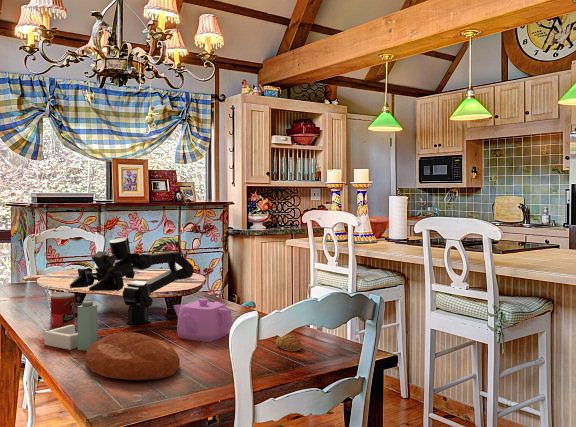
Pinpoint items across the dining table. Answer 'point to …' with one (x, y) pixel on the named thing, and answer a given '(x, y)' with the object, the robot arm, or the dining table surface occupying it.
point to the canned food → (62, 309)
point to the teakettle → (203, 320)
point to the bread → (132, 357)
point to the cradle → (62, 337)
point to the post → (87, 325)
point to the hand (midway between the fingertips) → (79, 288)
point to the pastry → (289, 343)
